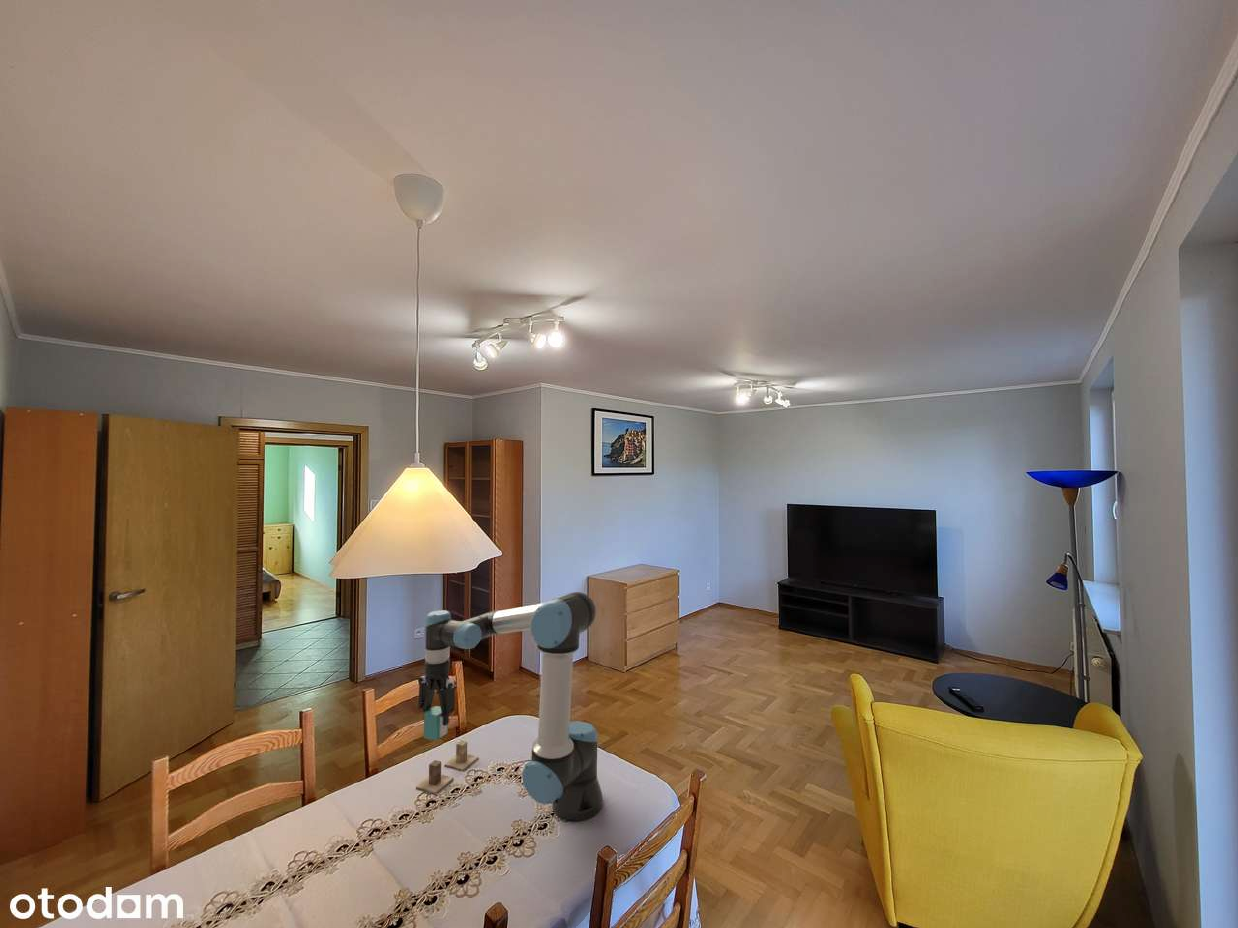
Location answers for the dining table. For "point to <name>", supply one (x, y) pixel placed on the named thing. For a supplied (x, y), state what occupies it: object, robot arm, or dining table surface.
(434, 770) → the post
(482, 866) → the dining table surface
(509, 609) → the robot arm
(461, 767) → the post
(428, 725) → the teal rectangular block
